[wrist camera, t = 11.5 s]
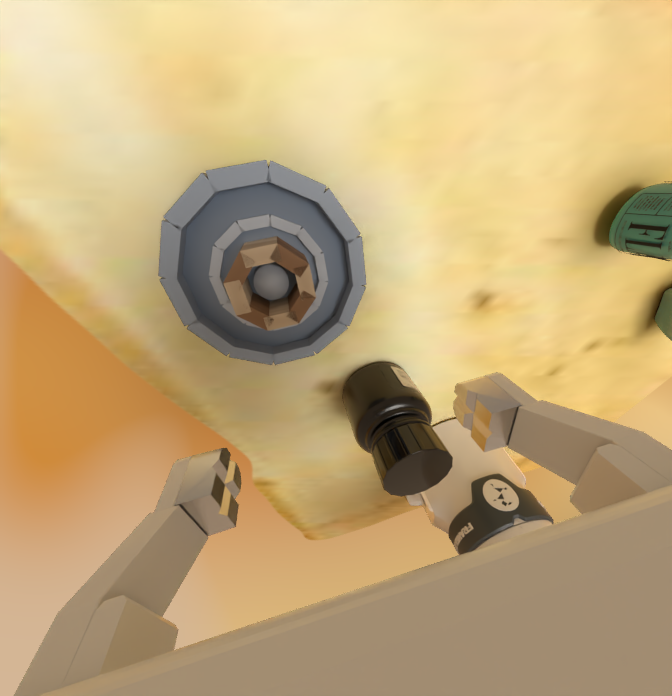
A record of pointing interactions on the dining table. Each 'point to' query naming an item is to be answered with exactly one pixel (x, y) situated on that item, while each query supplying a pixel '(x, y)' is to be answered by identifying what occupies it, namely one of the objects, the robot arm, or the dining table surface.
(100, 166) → the dining table surface
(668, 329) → the flower pot
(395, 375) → the ink bottle
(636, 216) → the beverage bottle
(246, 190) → the groove tray
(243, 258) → the bead loop
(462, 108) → the dining table surface
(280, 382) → the dining table surface
